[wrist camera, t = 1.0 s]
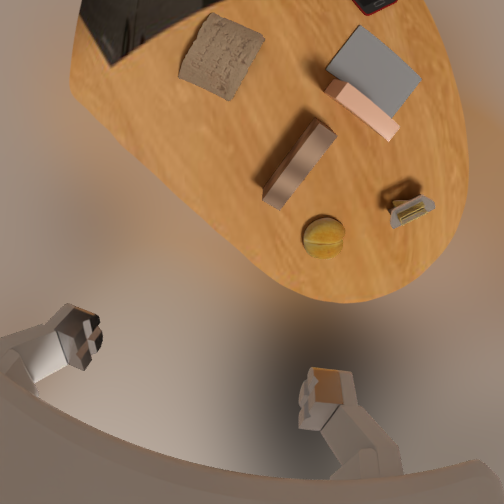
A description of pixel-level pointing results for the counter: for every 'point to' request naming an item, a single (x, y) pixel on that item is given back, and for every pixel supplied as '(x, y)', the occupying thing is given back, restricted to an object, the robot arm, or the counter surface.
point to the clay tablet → (220, 56)
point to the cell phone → (372, 5)
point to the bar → (298, 163)
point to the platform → (409, 210)
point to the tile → (362, 108)
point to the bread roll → (324, 238)
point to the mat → (374, 71)
